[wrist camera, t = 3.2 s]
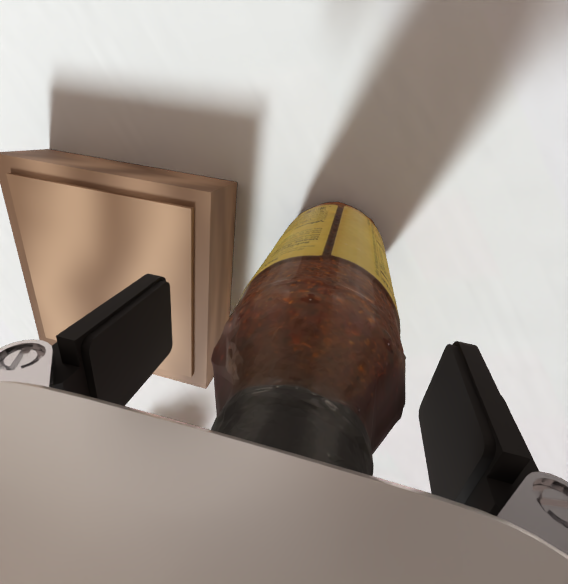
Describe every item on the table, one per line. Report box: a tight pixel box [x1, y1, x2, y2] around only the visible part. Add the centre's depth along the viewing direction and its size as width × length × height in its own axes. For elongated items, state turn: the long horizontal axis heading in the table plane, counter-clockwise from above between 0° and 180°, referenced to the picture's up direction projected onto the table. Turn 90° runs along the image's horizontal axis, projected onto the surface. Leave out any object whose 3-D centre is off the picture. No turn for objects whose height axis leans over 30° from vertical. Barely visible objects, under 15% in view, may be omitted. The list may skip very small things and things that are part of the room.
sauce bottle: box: [211, 202, 406, 476], centre depth 13 cm, size 7×6×20 cm
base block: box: [0, 149, 237, 389], centre depth 24 cm, size 14×14×4 cm
